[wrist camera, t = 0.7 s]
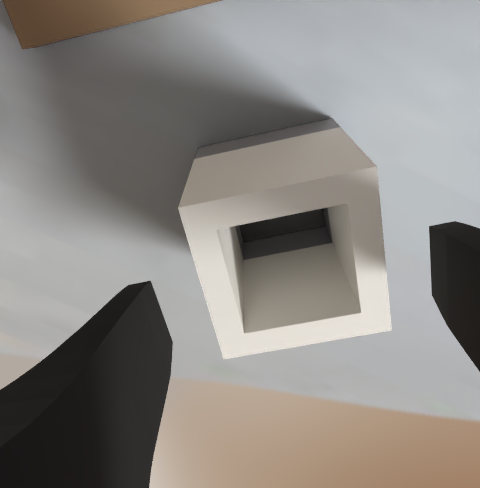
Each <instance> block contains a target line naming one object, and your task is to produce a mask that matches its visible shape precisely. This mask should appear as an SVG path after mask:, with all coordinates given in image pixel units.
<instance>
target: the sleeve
mask: <svg viewBox="0 0 480 488" xmlns="http://www.w3.org/2000/svg"><path fill="white" fill-rule="evenodd" d="M322 208H323V211H324V218H325V224H326V226H325V227H320V228H315V229H310V230H305V231H300V232H295V233H290V234H285V235H280V236H275V237H270V238H265V239H259V240H254V241H249V242H244V243H243V240H242V236H241V231H240V227H239V225H243V224H248V223H253V222H258V221H263V220H268V219H273V218H277V217H282V216H287V215H292V214H297V213H302V212H307V211H312V210H317V209H322ZM178 210H179V213H180V217H181V220H182V223H183V226H184V230H185V233H186V236H187V240H188V243H189V246H190V250H191V253H192V256H193V259H194V263H195V266H196V269H197V273H198V276H199V279H200V283H201V286H202V289H203V292H204V296H205V299H206V302H207V306H208V309H209V312H210V316H211V319H212V322H213V325H214V329H215V332H216V335H217V339H218V342H219V345H220V349H221V352H222V355H223V358H224V359H228V358H234V357H240V356H246V355H251V354H257V353H263V352H269V351H275V350H280V349H286V348H292V347H298V346H304V345H309V344H315V343H321V342H327V341H332V340H338V339H344V338H350V337H356V336H361V335H367V334H373V333H379V332H385V331H390V330H392V329H391V318H390V307H389V296H388V285H387V273H386V262H385V251H384V240H383V229H382V218H381V207H380V196H379V185H378V174H377V166H376V165H375V164H374V163H373V162H372V161H371V160H370V159H369V157H368V156H367V155H366V154H365V153H364V152H363V151H362V150H361V149H360V148H359V147H358V146H357V144H356V143H355V142H354V141H353V140H352V139H351V138H350V137H349V136H348V135H347V134H346V133H345V131H344V130H343V129H342V128H341V127H340V126H339V125H338V124H337V123H336V122H335V121H334V119H333V118H330V119H326V120H321V121H317V122H312V123H308V124H303V125H299V126H294V127H290V128H285V129H281V130H276V131H272V132H267V133H263V134H258V135H253V136H249V137H244V138H240V139H235V140H231V141H226V142H222V143H217V144H213V145H208V146H204V147H199V148H198V149H197V152H196V155H195V158H194V161H193V164H192V167H191V170H190V173H189V176H188V179H187V182H186V185H185V188H184V191H183V194H182V197H181V200H180V203H179V206H178Z"/></svg>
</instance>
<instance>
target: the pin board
mask: <svg viewBox="0 0 480 488" xmlns="http://www.w3.org/2000/svg"><path fill="white" fill-rule="evenodd" d="M217 1H221V0H3V2H4V5H5V7H6V10H7V12H8V15H9V17H10V20H11V22H12V25H13V27H14V30H15V32H16V35H17V37H18V40H19V42H20V45H21V47H22V49H28V48H35V47H39V46H43V45H47V44H51V43H55V42H59V41H63V40H67V39H71V38H75V37H79V36H83V35H87V34H91V33H95V32H98V31H102V30H106V29H110V28H114V27H118V26H122V25H126V24H130V23H134V22H138V21H142V20H146V19H150V18H154V17H158V16H162V15H166V14H170V13H174V12H178V11H182V10H186V9H190V8H194V7H197V6H201V5H205V4H209V3H213V2H217Z"/></svg>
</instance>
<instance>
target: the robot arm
mask: <svg viewBox="0 0 480 488" xmlns="http://www.w3.org/2000/svg"><path fill="white" fill-rule="evenodd" d="M429 233H430V257H431V282H432V296H433V298H434V300H435V302H436V304H437V306H438V308H439V310H440V312H441V314H442V316H443V318H444V320H445V322H446V324H447V326H448V327H449V329H450V330H451V332H452V333H453V335H454V336H455V337H456V339H457V340H458V342H459V343H460V345H461V346H462V347H463V349H464V350H465V352H466V353H467V354H468V356H469V357H470V359H471V360H472V361H473V363H474V364H475V366H476V367H477V368H478V370H479V371H480V229H479V228H476V227H473V226H470V225H467V224H463V223H459V222H455V221H454V222H449V223H444V224H439V225H434V226H429ZM172 344H173V342H172V339H171V336H170V334H169V331H168V328H167V325H166V322H165V320H164V317H163V314H162V311H161V308H160V306H159V303H158V300H157V297H156V294H155V292H154V289H153V286H152V283H151V281H147V282H142V283H137V284H132V285H128V286H127V287H125V288H124V289H123V290H121V291H120V292H119V293H118V294H117V295H116V296H115V297H113V298H112V299H111V300H110V301H109V302H108V303H107V304H106V305H105V306H104V307H103V308H102V309H101V310H99V311H98V312H97V313H96V314H95V315H94V316H93V317H92V318H91V319H90V320H89V321H88V322H87V323H86V324H84V325H83V326H82V327H81V328H80V329H79V330H78V331H77V332H75V333H74V334H73V335H72V336H71V337H70V338H68V339H67V340H66V341H65V342H64V343H63V344H61V345H60V346H59V347H58V348H57V349H56V350H54V351H53V352H52V353H51V354H50V355H48V356H47V357H46V358H45V359H43V360H42V361H41V362H40V363H38V364H37V365H36V366H34V367H33V368H32V369H30V370H29V371H27V372H26V373H25V374H23V375H22V376H20V377H19V378H18V379H16V380H15V381H13V382H12V383H10V384H9V385H7V386H6V387H4V388H3V389H1V390H0V488H149V483H150V473H151V466H152V461H153V455H154V450H155V444H156V440H157V436H158V431H159V426H160V422H161V418H162V413H163V408H164V404H165V399H166V394H167V390H168V384H169V380H170V374H171V362H172Z"/></svg>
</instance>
